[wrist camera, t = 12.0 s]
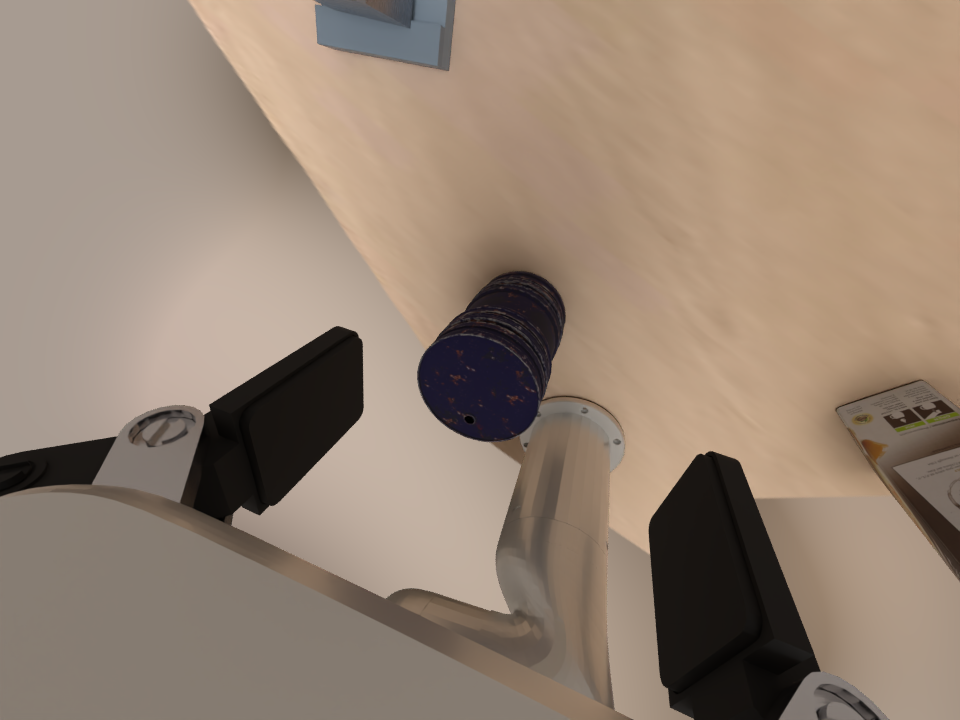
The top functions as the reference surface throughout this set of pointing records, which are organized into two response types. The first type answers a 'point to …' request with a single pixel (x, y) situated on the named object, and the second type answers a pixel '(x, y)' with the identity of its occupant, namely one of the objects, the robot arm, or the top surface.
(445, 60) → the shaft block
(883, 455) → the coffee box
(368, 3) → the grey hollow block
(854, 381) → the top surface
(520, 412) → the dark blue barrel
